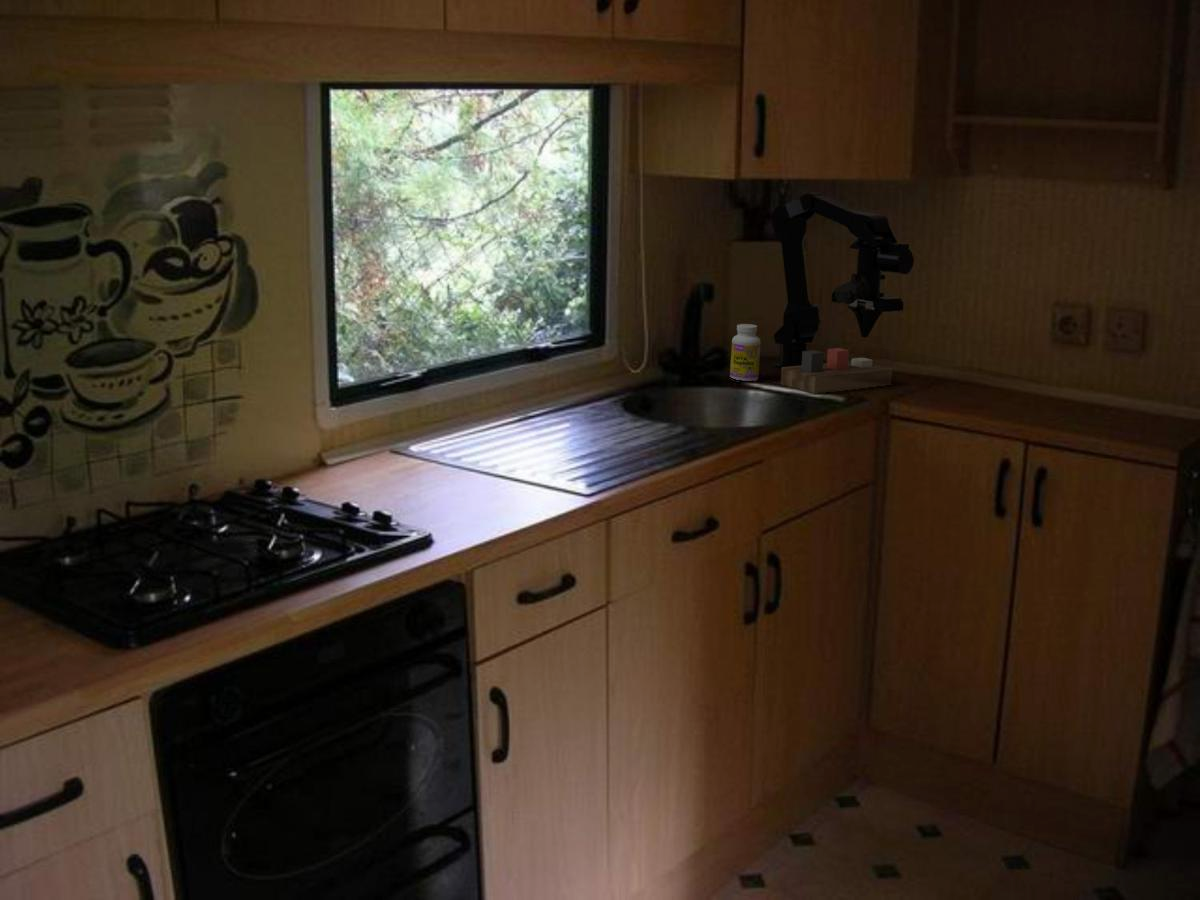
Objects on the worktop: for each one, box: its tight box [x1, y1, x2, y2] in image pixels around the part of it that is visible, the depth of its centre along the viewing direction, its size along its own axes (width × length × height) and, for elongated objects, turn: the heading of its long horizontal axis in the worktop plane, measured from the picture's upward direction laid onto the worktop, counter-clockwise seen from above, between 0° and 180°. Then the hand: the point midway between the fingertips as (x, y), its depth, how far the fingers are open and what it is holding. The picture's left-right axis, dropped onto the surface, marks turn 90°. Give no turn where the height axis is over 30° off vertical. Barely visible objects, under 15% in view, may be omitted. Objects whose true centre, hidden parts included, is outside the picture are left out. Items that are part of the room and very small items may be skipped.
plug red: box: [826, 347, 850, 370], centre depth 315 cm, size 3×3×5 cm
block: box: [780, 359, 893, 395], centre depth 316 cm, size 12×23×4 cm, turn 121°
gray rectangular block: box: [801, 349, 825, 373], centre depth 311 cm, size 3×3×5 cm
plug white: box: [851, 357, 873, 368], centre depth 319 cm, size 3×3×5 cm
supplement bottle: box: [729, 323, 761, 382], centre depth 318 cm, size 7×7×13 cm
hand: (864, 337), depth 317 cm, fingers closed
